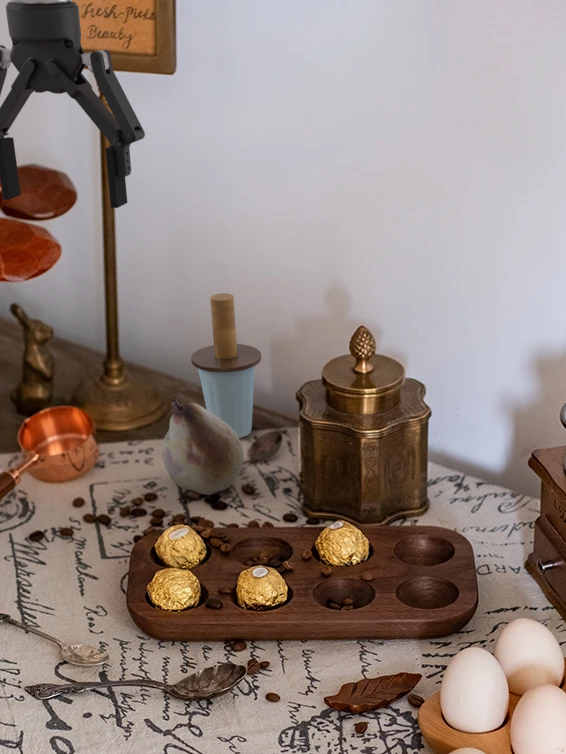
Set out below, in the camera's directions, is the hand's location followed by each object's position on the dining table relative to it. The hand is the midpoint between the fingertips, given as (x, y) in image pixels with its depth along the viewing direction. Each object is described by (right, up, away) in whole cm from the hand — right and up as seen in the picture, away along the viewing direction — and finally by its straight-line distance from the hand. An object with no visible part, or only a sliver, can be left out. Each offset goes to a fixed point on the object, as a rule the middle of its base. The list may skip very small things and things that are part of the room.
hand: (65, 201), depth 128 cm
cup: (+16, -25, +24) cm, 38 cm away
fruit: (+15, -33, +9) cm, 37 cm away
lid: (+16, -16, +19) cm, 29 cm away
